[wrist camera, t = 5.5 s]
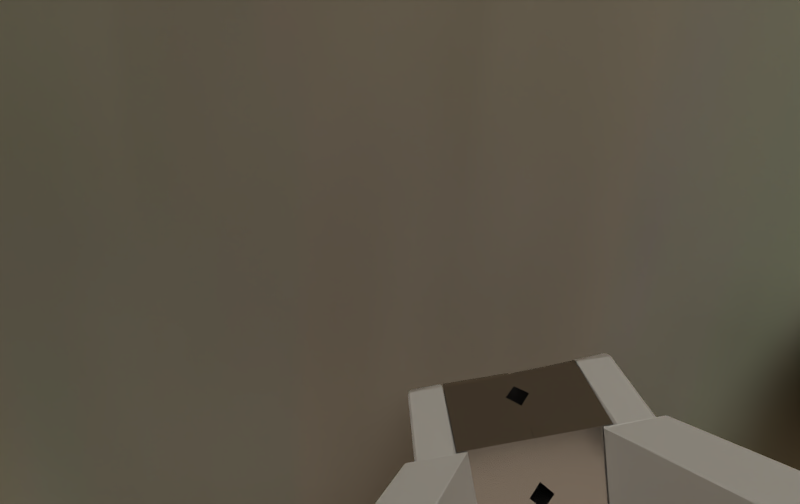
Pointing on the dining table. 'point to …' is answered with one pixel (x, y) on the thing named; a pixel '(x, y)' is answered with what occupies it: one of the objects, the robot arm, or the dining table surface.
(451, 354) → the dining table surface
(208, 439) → the dining table surface
